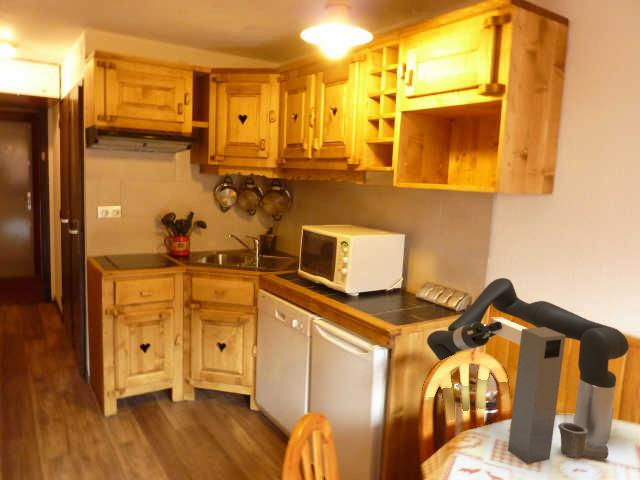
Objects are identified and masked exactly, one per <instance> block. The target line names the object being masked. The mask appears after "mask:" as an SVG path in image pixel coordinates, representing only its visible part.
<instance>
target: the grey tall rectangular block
mask: <svg viewBox="0 0 640 480" xmlns="http://www.w3.org/2000/svg"><path fill="white" fill-rule="evenodd" d="M526 328H527V329H522V333H521V342H520V345H519V350H518V351H519V352H518V360H517V370H516V376H515V377H516V378H515V384H514V385H515V387H514V396H513V402H512V412H511V420H510V429H509V437H508V446H507V451H508V452H510V453H511V454H512V455H513V456H515V457H516V458H517V459H519V460H521V461H522V463H525V464H526V465H530V464H534V463H540V462H545V461H549V460H550V459H551V452H552V451H551V450H552V445H553V438H554V437H553V436H554V430H555V420H556V414H557V413H556V412H557V406H558V398H559V392H560V391H559V389H560V383H561V376H562V375H561V373H562V366H563V361H564V360H563V358H564V351H565V344H566V338H565V337H566V335H564V334H561V333H559V332H556V331H553V330H551V329H548V328H546V327H539V328H537V327H526Z"/></svg>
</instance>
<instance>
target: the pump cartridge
mask: <svg viewBox="0 0 640 480" xmlns="http://www.w3.org/2000/svg"><path fill="white" fill-rule="evenodd" d="M511 321H512V320H509V319H506V318H505V317H503V316H492V317H489V321H488V324H492V323H495V322H501V326H502V329H500V330H497V331H493V332H492V333H494V334H496V336H499V337H501V338H503V339H506V340H508V341H510V342H512V343H514V344H517V345H518V346H520V342H521V333H522V329H527V328H528V327H525V326H523V325H520V324H518V323H516V322H515V321H514V322H511Z"/></svg>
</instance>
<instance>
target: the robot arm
mask: <svg viewBox="0 0 640 480" xmlns="http://www.w3.org/2000/svg"><path fill="white" fill-rule="evenodd" d="M491 305H492V307H493V308H494V309H495V310H496V311H498V312H501V313H503V314H505V315H509V316H512V317H514V318H517V319H520V320H521V321H523V322H526V323H527V324H531V325H532V326H534V328H539V327H546V328H548V329H551V330H553V331H556V332H559V333H561V334H564V335H566V337H565V339H566V338H567V339H571V340H576V341H578V342H579V348H578V349H579V350H578V364H577V366H578V370H579V379H578V386H577V396H576V401H575V411H574V415H573V416H574V417H573V422H572V423H573V424H577V425H580V426H582V427H584V428H585V429H587V431H588V432H587V435H586V440H585V442H586V443H594V444H604V445H606V443H607V442H608V440H610V437H611V432H612V425H613V424H612V423H613V416H614V407H613V403H614V397H615V391H616V383H617V376H616V374H614V373H613V372H612V371H610V370H609V360H610V361H612V360H616V359H619V358H622V357H624V356H625V355H626V354H627V353H628V351H629V347H630V346H629V341H628V339H627V337H626V336H625V334H623V332H621V331H620V330H618V329H617V328H616V327H611V326H608V325H606V324H602V323H598V322H595V321H592V320H589V319H586V318H585V317H582V316H580V315H578V314H576V313H574V312H571V311H569V310H567V309H564V308H563V307H560V306H558V305H556V304H553V303H551V302H548V301H544V300H538V301H534V302H533V301H532V302H530V303H528V302H526V301H524V300H522V299H520V298H519V297H518V295H517V292H516V289H515V287H514V283H513V282H512V280H511V279H509V278H505V277H500V278H496V279H494V280H493V281H491V282H489V284H488V285H487V286H486V287H485V288H484V290H482V292H481V293H480V294H479V296H477V298H476V299H475V300H474V301H473V303H472V304H471V305H470V306H469V307H468V308H467V309H466V310H465V312H463V313H462V314H461V315H460V316H459V317H457V318H456V319H455V320H454V321H453V322H452V323H450V324H449V326H448V327H447V330H445V329H444V330H443V329H442V330H435V331H433V332H431V333H430V334H429V335H428V336H427V339H426V344H427V345H428V347H429V348H430V350H431V351H432V352H433V354H434V355H435V357H436V358H437V359H438V360H439V361H440V362H442V361H441V360H443V359H445V358H447V357H449V356H452V355H454V354H455V355H456V354H457V353H460V352H462V351H465V350H466V351H468V350H472V349H476V348H480V347H483V346H485V345H487V344H488V342H489V341H490V339H491V338H492V339H493V338H494V337H496V336H497V335H496V334H494V333H492V332H493V331H497V330H500V329H502V326H501V322H495V323H492V324H489V323H482V321H483V319H484V317H485V315H486V313H487V311H488V309H489V307H490V306H491ZM510 321H511V322H514V323H515V321H514V320H510ZM455 355H454V356H455Z"/></svg>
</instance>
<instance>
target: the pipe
mask: <svg viewBox="0 0 640 480" xmlns="http://www.w3.org/2000/svg"><path fill="white" fill-rule="evenodd" d="M573 423H574V422H565V421H564V422H560V423H559V424H558V426H557V427H558V430H559V433H560V434H559V435H560V451H561V453H562V454H563V455H565V456H566V457H569V458H575V459H576V458H577V459H579V458H581V457H584V458H585V457H587V458H592V459H593V458H595V459H605V460H606V459H608V457H609V448H608V445H606V444H594V443H589V442H586V441H585V440H586V435H587V432H588V431H587V429H585V428H584V427H582V426H580V425H577V424H573Z"/></svg>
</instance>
